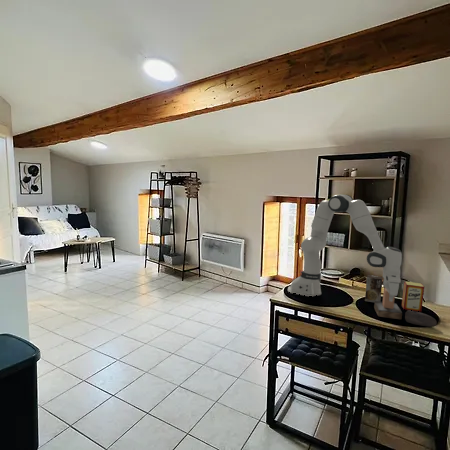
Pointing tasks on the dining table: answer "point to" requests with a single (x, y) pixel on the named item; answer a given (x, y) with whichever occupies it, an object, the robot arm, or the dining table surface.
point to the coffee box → (373, 288)
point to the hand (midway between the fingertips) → (388, 298)
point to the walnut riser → (387, 311)
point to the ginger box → (413, 296)
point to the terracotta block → (387, 300)
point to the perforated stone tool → (419, 319)
